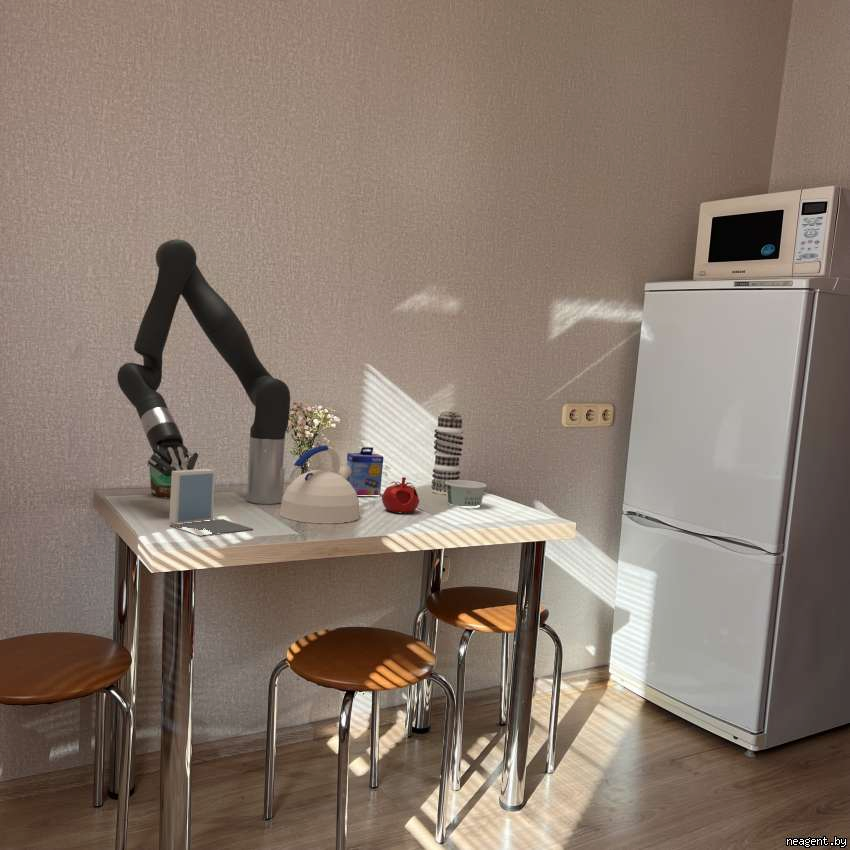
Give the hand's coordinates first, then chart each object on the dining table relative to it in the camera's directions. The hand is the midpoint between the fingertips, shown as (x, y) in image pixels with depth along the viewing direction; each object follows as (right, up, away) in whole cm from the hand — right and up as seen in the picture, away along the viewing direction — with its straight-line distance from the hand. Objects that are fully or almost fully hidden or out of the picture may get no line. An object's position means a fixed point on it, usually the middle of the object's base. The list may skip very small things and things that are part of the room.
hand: (186, 488), depth 206 cm
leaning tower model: (+62, -6, +67) cm, 91 cm away
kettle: (+29, -8, +17) cm, 35 cm away
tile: (+1, -8, -1) cm, 8 cm away
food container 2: (+67, -9, +47) cm, 82 cm away
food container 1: (-12, -4, +27) cm, 30 cm away
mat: (+8, -9, -7) cm, 13 cm away
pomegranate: (+49, -9, +31) cm, 59 cm away
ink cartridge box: (+38, -6, +51) cm, 64 cm away
